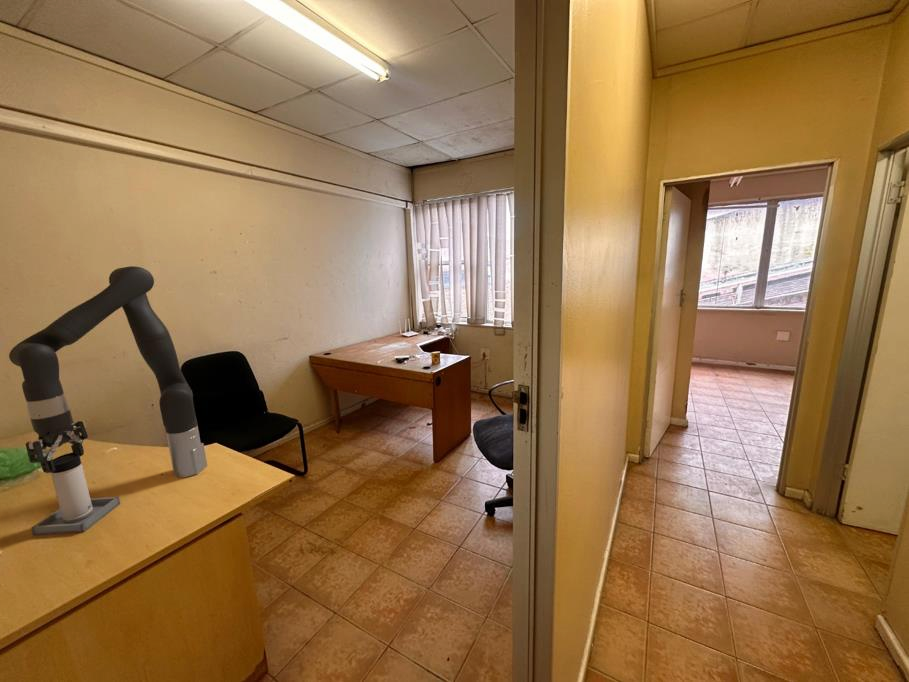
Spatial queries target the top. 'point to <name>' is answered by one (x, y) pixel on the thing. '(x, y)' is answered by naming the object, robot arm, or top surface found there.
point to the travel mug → (71, 488)
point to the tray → (57, 525)
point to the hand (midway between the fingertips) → (65, 463)
